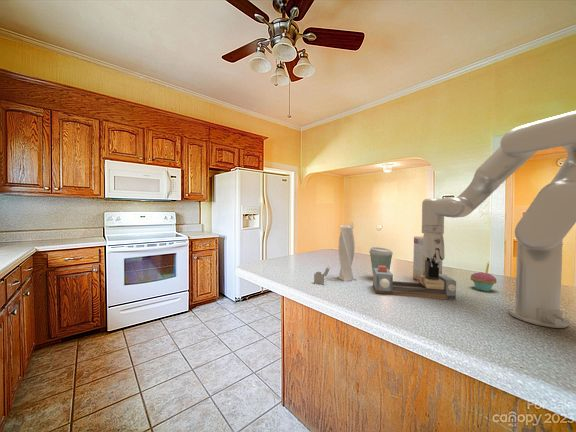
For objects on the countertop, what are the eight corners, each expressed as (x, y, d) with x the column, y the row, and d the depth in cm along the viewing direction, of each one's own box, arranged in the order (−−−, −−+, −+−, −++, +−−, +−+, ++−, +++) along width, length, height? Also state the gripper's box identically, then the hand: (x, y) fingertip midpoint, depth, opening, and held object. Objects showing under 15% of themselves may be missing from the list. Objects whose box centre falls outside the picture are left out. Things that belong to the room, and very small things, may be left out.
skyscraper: (359, 281, 112) (359, 222, 111) (344, 283, 109) (345, 222, 108) (348, 276, 120) (349, 221, 119) (334, 278, 117) (335, 221, 116)
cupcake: (486, 286, 104) (487, 259, 104) (502, 293, 96) (502, 263, 96) (465, 286, 105) (466, 259, 105) (479, 292, 97) (479, 263, 96)
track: (455, 299, 89) (455, 291, 88) (376, 293, 95) (376, 286, 94) (444, 291, 98) (444, 283, 98) (372, 286, 104) (373, 279, 104)
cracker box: (442, 287, 103) (443, 239, 102) (428, 287, 103) (429, 239, 102) (424, 278, 117) (425, 236, 116) (412, 278, 117) (413, 235, 116)
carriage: (444, 289, 90) (444, 263, 90) (426, 288, 91) (427, 262, 91) (435, 283, 98) (436, 259, 98) (420, 282, 99) (420, 258, 99)
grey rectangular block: (456, 300, 88) (456, 281, 88) (447, 299, 89) (447, 281, 88) (444, 291, 98) (444, 274, 98) (436, 290, 99) (436, 273, 99)
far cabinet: (392, 295, 93) (393, 275, 92) (376, 294, 94) (376, 274, 94) (387, 287, 103) (387, 268, 103) (372, 286, 104) (373, 267, 104)
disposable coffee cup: (393, 278, 117) (394, 247, 117) (390, 283, 108) (391, 250, 107) (371, 275, 122) (371, 246, 122) (366, 280, 113) (367, 248, 113)
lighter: (313, 283, 108) (314, 265, 107) (315, 282, 109) (315, 265, 109) (329, 285, 105) (329, 267, 105) (330, 284, 106) (330, 266, 106)
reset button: (386, 277, 97) (386, 267, 97) (379, 276, 98) (379, 266, 97) (385, 275, 100) (385, 265, 100) (378, 274, 100) (378, 265, 100)
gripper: (452, 231, 85) (451, 282, 86) (435, 228, 101) (434, 271, 102) (429, 231, 87) (428, 281, 87) (415, 228, 103) (415, 270, 103)
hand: (431, 275), depth 95 cm, fingers closed on carriage, 3 cm apart
